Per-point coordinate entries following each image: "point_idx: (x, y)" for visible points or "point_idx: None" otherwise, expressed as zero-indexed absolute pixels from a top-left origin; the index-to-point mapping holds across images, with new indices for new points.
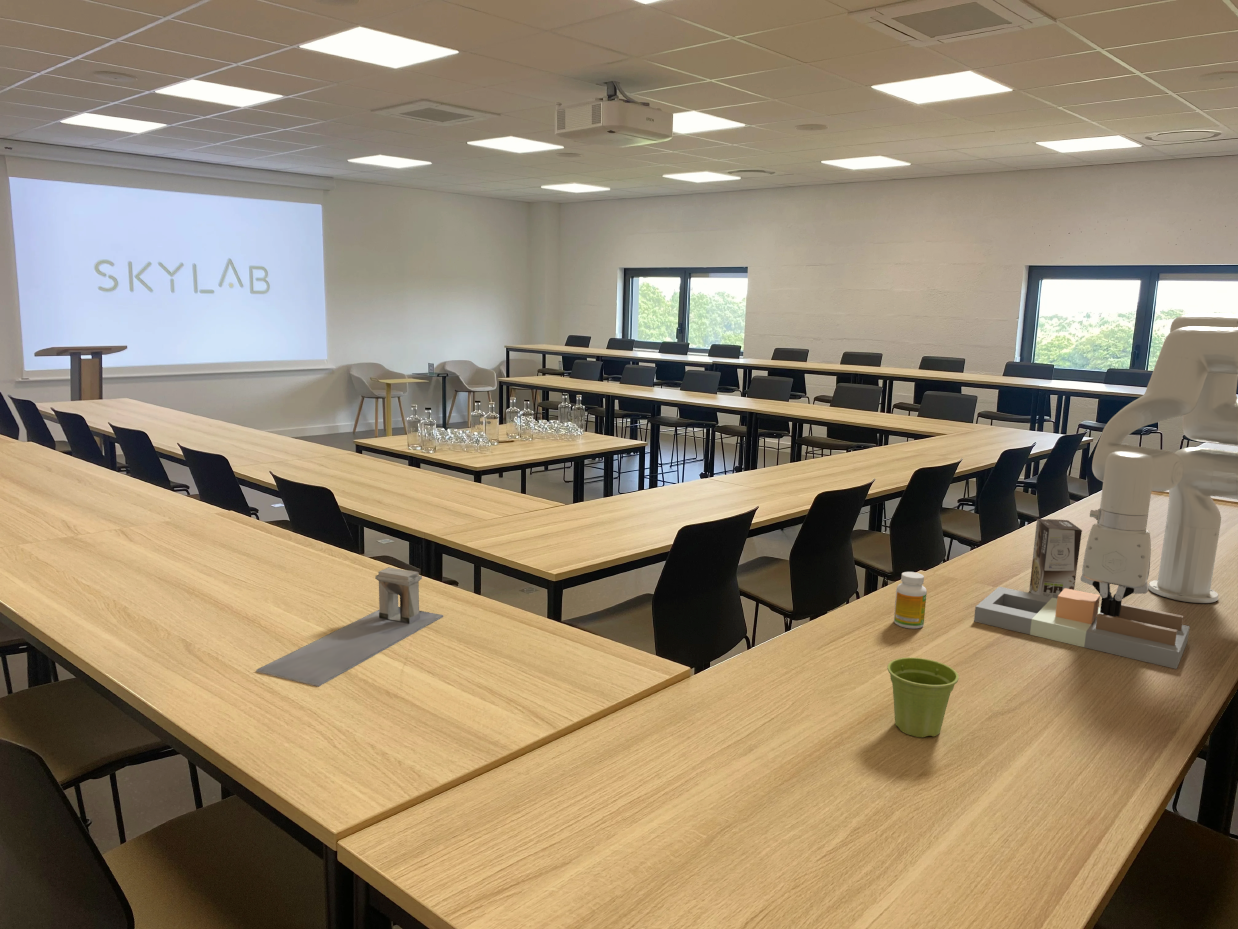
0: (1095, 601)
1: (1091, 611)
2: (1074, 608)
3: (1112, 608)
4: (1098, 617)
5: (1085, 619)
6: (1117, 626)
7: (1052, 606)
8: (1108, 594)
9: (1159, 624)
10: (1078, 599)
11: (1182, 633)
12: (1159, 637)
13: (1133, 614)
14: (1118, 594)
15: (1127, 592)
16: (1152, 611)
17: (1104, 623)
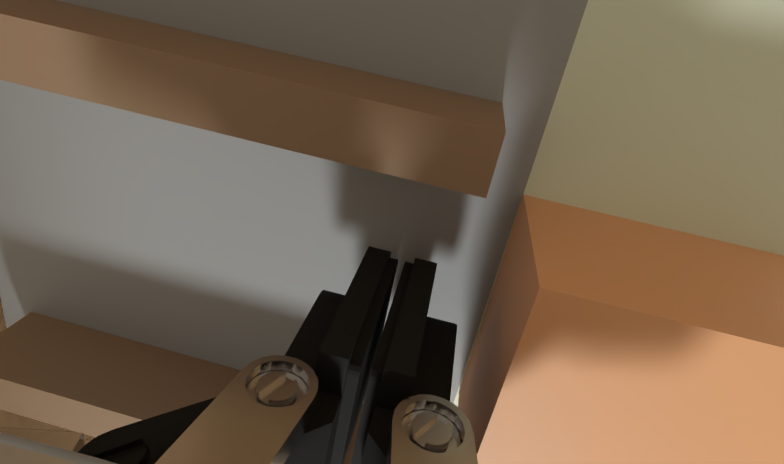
0: (513, 357)
1: (545, 243)
2: (700, 278)
3: (358, 302)
4: (492, 125)
5: (574, 216)
6: (332, 73)
7: None
8: (381, 441)
9: (123, 347)
10: (702, 352)
11: (12, 272)
12: (38, 4)
13: None
14: (268, 415)
15: (160, 446)
16: (119, 414)
17: (437, 101)
